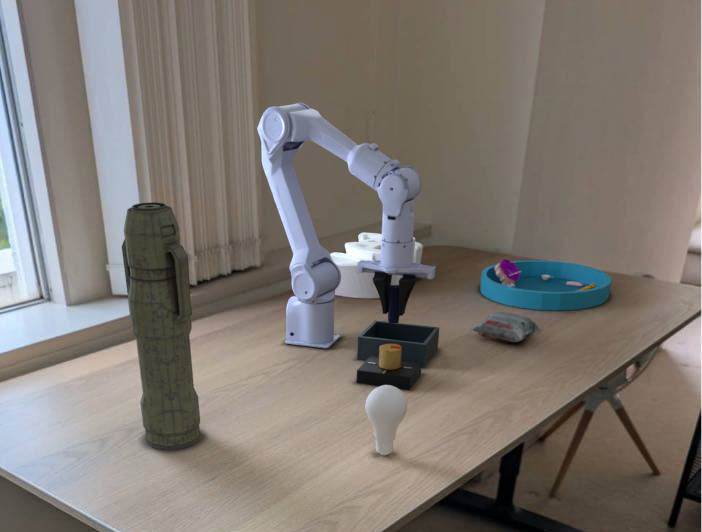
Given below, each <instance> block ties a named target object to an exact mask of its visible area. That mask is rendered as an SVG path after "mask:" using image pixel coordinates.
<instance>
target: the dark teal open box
mask: <svg viewBox="0 0 702 532" xmlns="http://www.w3.org/2000/svg"><path fill="white" fill-rule="evenodd" d="M439 337H440V327H439V326H431V325H422V324H411V323H403V322H402V323H401V322H398V323H389V322H388V321H385V320H373V321H372V323H370V324H369V325H368V326H367V327H366V328H365V329H364V330H363V331H362V332H361V333H360V334H359V335H358V336H357V353H356V354H357V355H356V360H357V361H363V362H365V361H366V360H367V359H368V358H369V357H370V356H376V357H379V348H380V346H381V345H383V344H397V345H400V346H402V353H401V360H408V361H417V362H422V367H421V369H425V368H426V366H427V364H429V362H430V361H431V359H432V358H433V356H434V355H435V354H436V353H437V351H438V350H439Z"/></svg>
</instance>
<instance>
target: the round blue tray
mask: <svg viewBox="0 0 702 532" xmlns="http://www.w3.org/2000/svg"><path fill="white" fill-rule="evenodd" d="M612 282H613V281H612V277H611V276H610V274H607V273H606V272H605V271H603V270H600V269H597V268H594V267H592V266H587V265H583V264H580V263H573V262H566V261H556V260H537V259H536V260H535V259H534V260H532V259H529V260H514V261H513V260H512V261H511V260H509V259H507V258H503V259H502V260H501V261H500V262H499V263H495V264H492V265H489V266H487V267H485V268H484V269H483V270H481V275H480V286H479V290H480V293H481V294H482V295H483V296H484V297H485V298H487V299H489V300H491V301H493V302H496V303H500V304H502V305H506V306H510V307H516V308H520V309H521V308H522V309H528V310H537V311H538V310H540V311H576V310H583V309H589V308H593V307H596V306H600V305H602V304H604V303H605V302H607V301H608V299H609V296H610V292H611V286H612Z"/></svg>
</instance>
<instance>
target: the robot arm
mask: <svg viewBox="0 0 702 532" xmlns="http://www.w3.org/2000/svg"><path fill="white" fill-rule="evenodd" d="M256 130H257V133H258V136H259V138H260V142H261V145H260V147H261V165H262V168H263V171H264V175H265V177H266V180H267V183H268V186H269V188H270V191H271V194H272V197H273V200H274V203H275V205H276V208H277V212H278V214H279V217H280V220H281V222H282V225H283V228H284V231H285V234H286V237H287V240H288V243H289V246H290V248H291V251H292V254H293V255H292V259H291V261H290V264H289V272H290V275H291V289H292V292H293V294H294V295H293V296H290V298H289V299H288V301H287V304H286V308H285V309H286V310H285V316H286V317H285V320H286V321H285V324H286V325H285V328H286V329H285V331H286V333H285V335H286V340H285V341H284V343H285V344H287V345H295V346H302V347H310V348H311V347H312V348H319V349H330V348H331V347H332V345H333V344H335V343H336V342H337V341H338V340H340V338H341V334H337V333H335V296H336V295H335V289H336V288H337V287H338V286H339V284H340V281H341V273H340V270H339V268H338V266H337V265H336V264H335V263H334V261H333V260H332V258H331V256H330V254H331V253H330V251H328V249H326V248H325V247H324V246H322V244H320V241H319V239H318V236H317V233H316V230H315V226H314V223H313V220H312V218H311V215H310V212H309V209H308V206H307V203H306V199H305V196H304V194H303V191H302V189H301V185H300V183H299V178H298V176H297V173H296V169H295V167H294V160H295V159H296V156H297V154H298V152H299V150H300V149H301V148H302V147H303V146H304V145H305V143H306V142H313V143H315V144H316V145H318V146H320V147H322V148H323V149H324V150H326V151H328V152H330V153H331V154H333V155H335V156H336V157H338V158H339V159H341V160H343V161H344V162H346V163H347V167H348V172H349V173H350V174H351V175H352V176H354V177H355V178H357V179H358V180H359V181H361V182H363V183H364V184H365V185H366V186H368V187H370V188H371V189H372V190H374V191H375V192H377V195H378V198H379V200H380V202H381V204H382V219H381V221H382V223H381V224H382V225H381V234H382V243H381V260H378V261H367V260H360V261H359V262H358V263H357V273H363V272H366V273H375V274H374V277H373V283H374V285H375V287H376V289H377V291H378V294H379V297H380V298H379V300H380V305H381V309H382V314H383V315H388V304H389V287H390V285H391V279H392V275H400V276H403V277H402V278H401V279H400V280H399V309H398V315H399V317H401V316H404V314H405V313H406V307H407V304H408V301H409V298H410V295H411V293H412V291H413V289H414V287H415V284H416V283H417V281H418V279H419V278H423V279H424V278H425V279H426V280H433V279H434V278H435V277H436V267H437V266H436V265H427V264H424V263H423V264H422V263H420V264H417V263H412V248H413V237H414V233H415V232H414V230H415V216H416V215H415V214H416V213H415V212H416V198H417V197H418V196H419V195H420V193H421V191H422V185H423V182H422V177H421V176H420V174H419V172H418V171H417V170H416V169H415V168H414V167H413V166H412V165H402V166H401V162H400V161H399V160H397V159H392V158H390V157H389V156H388V155H386V154H384V152H382V151H380V150H379V149H380V146H379V145H378V144H376V143H375V142H373V143H368V142H364V143H361V144H357V143H356V142H355V141H354V140H352V139H351V138H350V137H348V136H347V135H346V134H344V132H342V131H341V130H340V129H338V128H337V127H336V126H334V125H333V124H332V123H330V121H328V120H326V118H324V117H323V116H322V115H321V114H320V112H319V111H318V110H316V109H314V108H310V106H309V105H307V104H306V103H304V102H296V103H293V104H288V105H280V106H277V105H275V106H273V105H272V106H270V107H267V108H266V109H265V110H264V111H263V113H262V115H261V117H260V120H259V122H258V125H257V128H256Z"/></svg>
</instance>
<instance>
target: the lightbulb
mask: <svg viewBox="0 0 702 532" xmlns="http://www.w3.org/2000/svg"><path fill="white" fill-rule="evenodd" d="M407 411H408V400H407V397H406V395H405V393H404V392H403V391H402V389H398V388H396V387H394V386H391V385H383V386H376V387H375V388H374V389H372V391H371V392H369V394H368V395H367V398H366V400H365V412H366V415H367V417H368V420H369V421H370V423H371V426H372V428H373V436H374V440H375V451H376V453H377V454H380V455H381V456H387V455H389V454H391V453H392V452H393V450H394V449H393V448H394V441H395V440H396V435H397V431H398V428H399V426H400V424H401V423H402V421H403V419H405V416H406V414H407Z"/></svg>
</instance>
